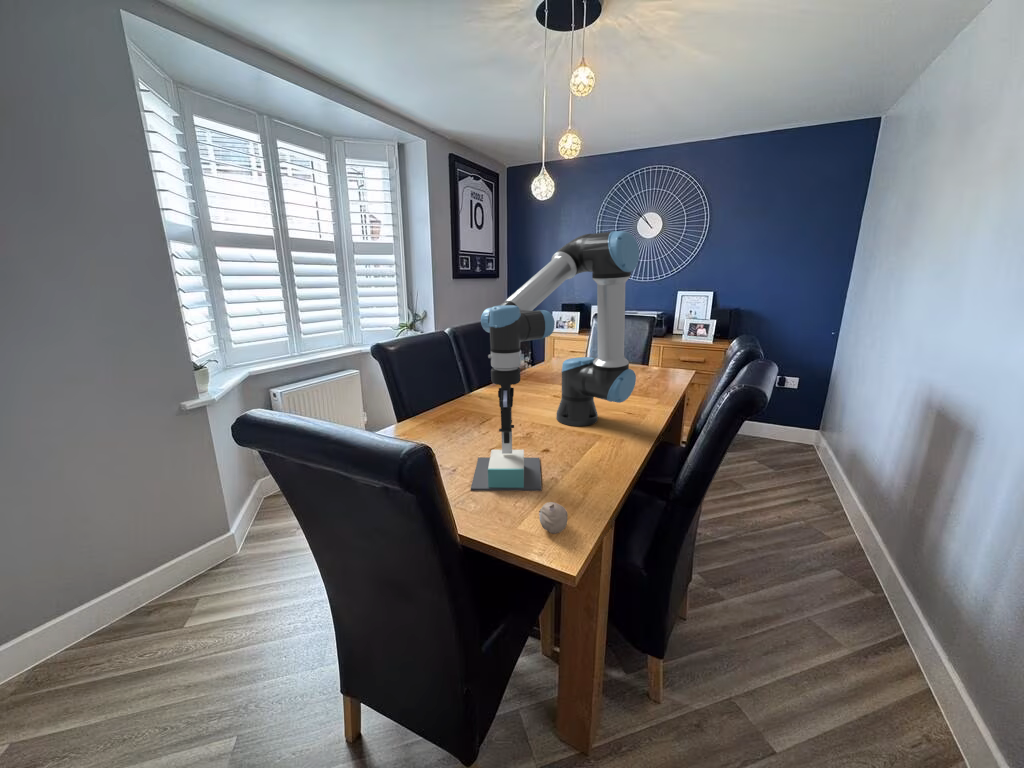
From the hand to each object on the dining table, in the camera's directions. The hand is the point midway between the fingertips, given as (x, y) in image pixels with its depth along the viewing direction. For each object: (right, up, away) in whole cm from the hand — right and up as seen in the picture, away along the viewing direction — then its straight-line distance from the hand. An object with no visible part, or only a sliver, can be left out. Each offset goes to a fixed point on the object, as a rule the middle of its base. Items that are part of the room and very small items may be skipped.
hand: (507, 452), depth 111 cm
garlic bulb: (+10, -13, -23) cm, 28 cm away
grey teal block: (0, -2, +4) cm, 5 cm away
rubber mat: (0, -6, +2) cm, 6 cm away
